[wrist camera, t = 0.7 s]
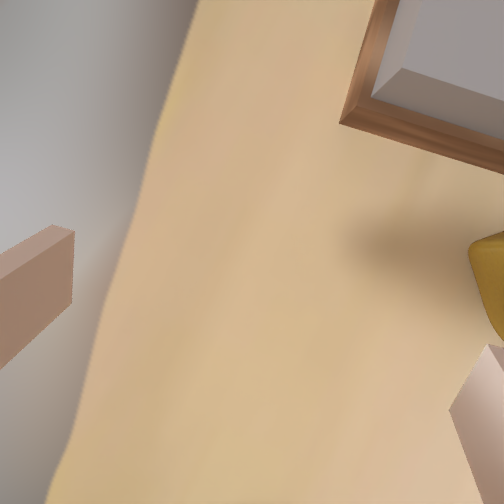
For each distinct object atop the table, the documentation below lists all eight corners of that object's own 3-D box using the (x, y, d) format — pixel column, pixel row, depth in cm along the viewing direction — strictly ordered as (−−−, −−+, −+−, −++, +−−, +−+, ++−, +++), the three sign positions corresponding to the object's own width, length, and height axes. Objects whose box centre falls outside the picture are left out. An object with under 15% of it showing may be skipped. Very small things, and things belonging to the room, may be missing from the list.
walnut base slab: (507, 177, 33) (555, 168, 28) (337, 124, 32) (356, 105, 27) (562, 0, 32) (622, -41, 27) (390, -57, 32) (420, -111, 27)
